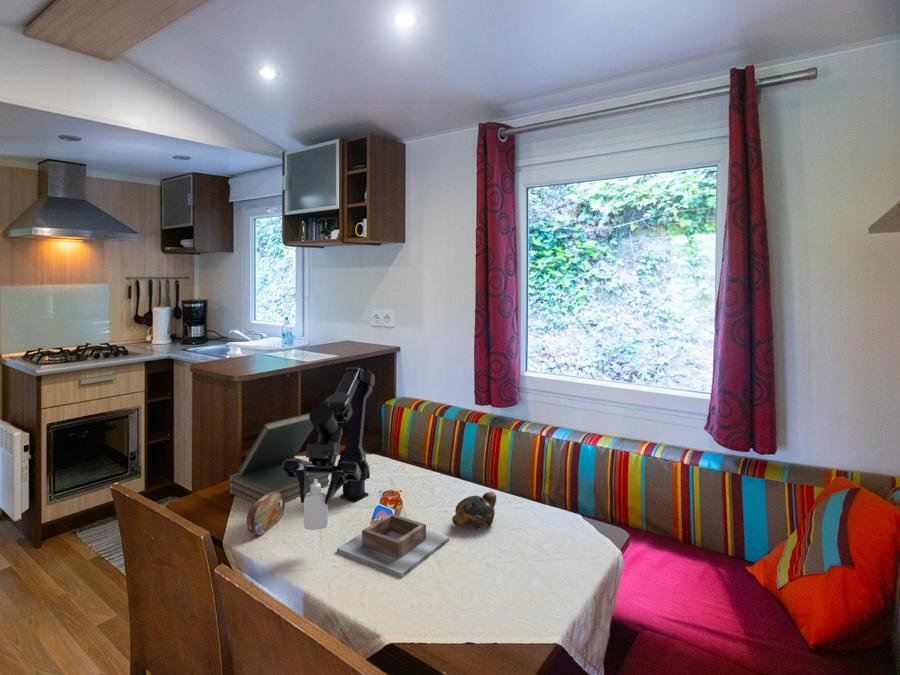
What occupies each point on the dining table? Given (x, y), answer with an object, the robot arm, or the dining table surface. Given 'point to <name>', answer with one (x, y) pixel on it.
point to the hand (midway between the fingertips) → (314, 503)
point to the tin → (265, 513)
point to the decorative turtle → (475, 510)
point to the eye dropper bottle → (315, 508)
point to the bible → (274, 461)
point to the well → (394, 544)
